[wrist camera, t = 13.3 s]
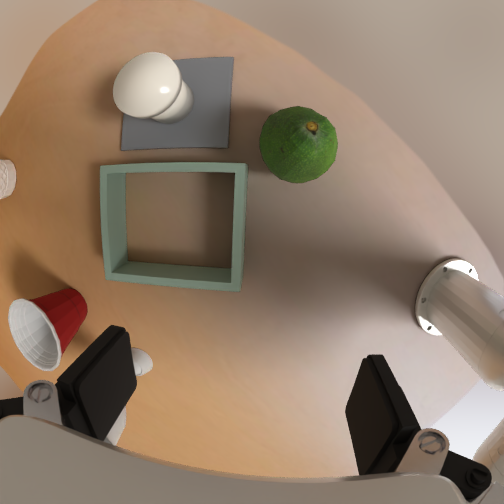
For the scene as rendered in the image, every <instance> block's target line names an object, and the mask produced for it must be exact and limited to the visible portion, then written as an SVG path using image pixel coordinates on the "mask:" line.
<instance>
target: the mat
mask: <svg viewBox="0 0 504 504" xmlns="http://www.w3.org/2000/svg"><path fill="white" fill-rule="evenodd" d="M172 61H173V62H174V63H175V64H176V65H177V66H178V68H179V69H180V72H181V75H182V80H183V81H184V82H185V83H186V84H187V85H188V86H189V87H190V88H191V90H192V91H193V94H194V105H193V108H192V110H191V112H190V113H189V114H188V116H187V117H186V118H184V119H183V120H181V121H180V122H177V123H174V124H163V123H160V122H158V121H156V120H154V119H152V118H147V119H140V118H136V117H133V116H130V115H128V114H125V113H124V116H123V128H122V144H121V151H127V150H142V149H163V148H228V141H229V123H230V106H231V90H232V76H233V62H234V58H233V57H211V58H193V59H181V60H172Z"/></svg>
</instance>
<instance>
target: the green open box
mask: <svg viewBox="0 0 504 504" xmlns="http://www.w3.org/2000/svg"><path fill="white" fill-rule="evenodd" d="M138 172H228V173H235V188H234V213H233V240H232V269H231V268H215V267H200V266H186V265H172V264H159V263H146V262H133V261H128V251H127V233H126V173H138ZM247 180H248V165H247V164H246V163H215V162H170V163H138V164H119V165H104V166H100V213H101V234H102V248H103V259H104V269H105V278H106V280H113V281H121V282H131V283H140V284H150V285H160V286H171V287H182V288H193V289H206V290H219V291H233V292H240V289H241V284H242V280H243V268H244V245H245V222H246V201H247Z"/></svg>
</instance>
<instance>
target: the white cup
mask: <svg viewBox="0 0 504 504" xmlns="http://www.w3.org/2000/svg"><path fill="white" fill-rule="evenodd" d="M15 184H16V170H15V166H14V164H13V163H12V162H11V161H10V160H0V199H3V198H7V197H8V196H10V195H11V194H12V192H13V190H14V188H15Z"/></svg>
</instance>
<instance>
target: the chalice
mask: <svg viewBox="0 0 504 504" xmlns="http://www.w3.org/2000/svg"><path fill="white" fill-rule="evenodd" d="M131 351H132V357H133V363H134V369H135V374H136V376H141V375H143V374H145V373H147V372H149V371H150V370H151V369H152V366H153V363H152V360H151V358H150V357H149V355H148V354H147V353H145V352H144V351H142V350H140V349H138V348H131ZM125 426H126V405H125V407H124V409H123V410H122V412H121V413H120V415H119V417H118V418H117V420H116V422H115V423H114V425H113V427H112V428H111V430H110V432H109V433H108V435H107V437H106V438H105V440H104V441H103V442H106V443H109V444H112V445H115V446H116V444H117V442H118V440H119V438H120V436H121V434H122V432H123V430H124V428H125Z"/></svg>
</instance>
